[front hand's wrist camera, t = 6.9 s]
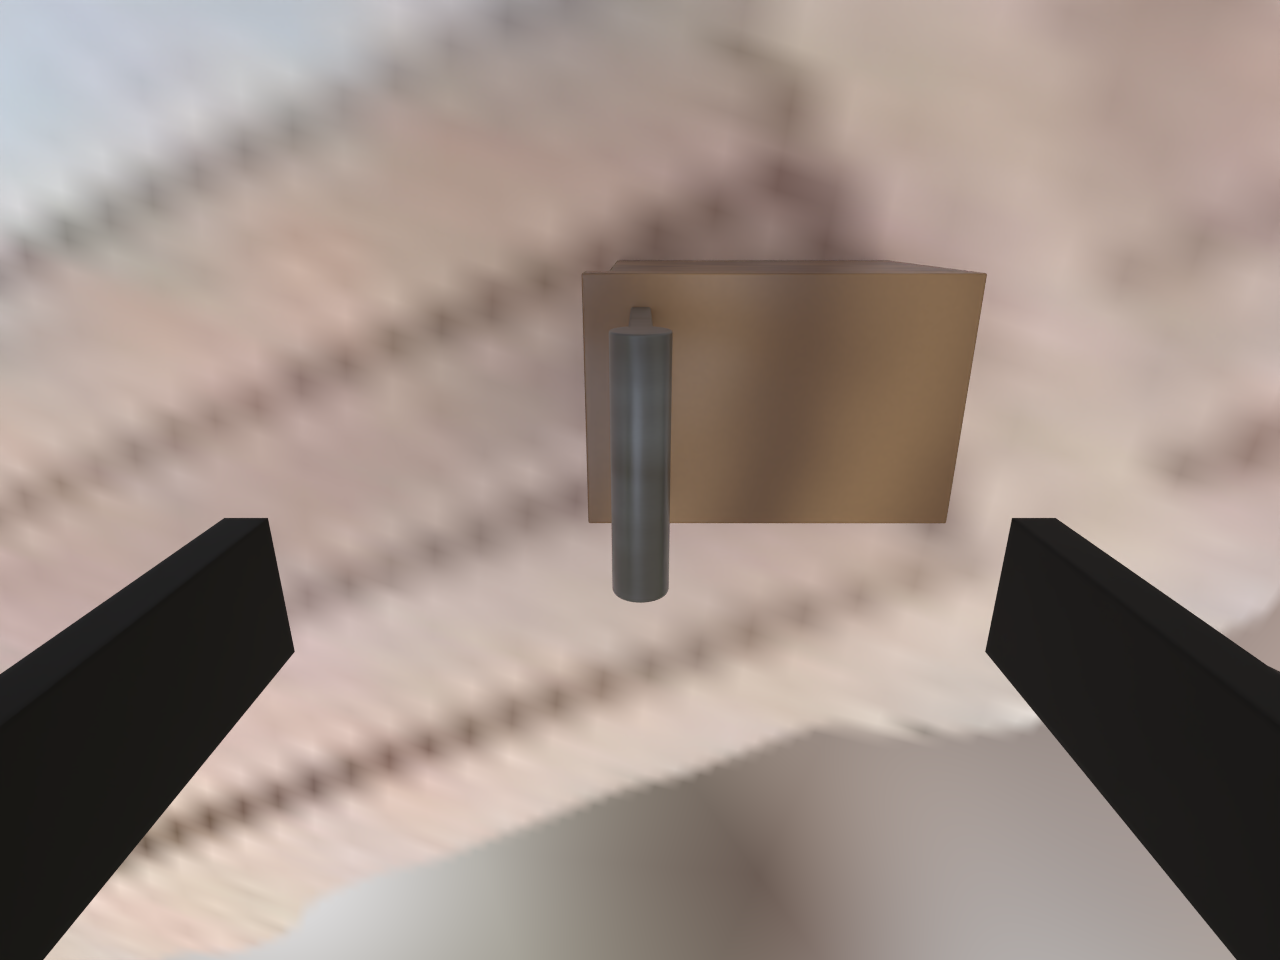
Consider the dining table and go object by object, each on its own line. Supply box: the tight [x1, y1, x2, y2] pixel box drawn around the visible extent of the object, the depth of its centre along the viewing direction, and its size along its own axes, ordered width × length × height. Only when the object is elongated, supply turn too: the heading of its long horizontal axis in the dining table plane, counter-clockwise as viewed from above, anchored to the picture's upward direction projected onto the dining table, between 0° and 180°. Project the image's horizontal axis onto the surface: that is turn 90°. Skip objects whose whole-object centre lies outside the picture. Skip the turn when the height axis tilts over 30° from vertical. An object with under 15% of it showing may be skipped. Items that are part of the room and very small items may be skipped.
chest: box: [610, 261, 963, 271], centre depth 31 cm, size 13×9×9 cm
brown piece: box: [582, 271, 987, 602], centre depth 22 cm, size 14×9×9 cm
